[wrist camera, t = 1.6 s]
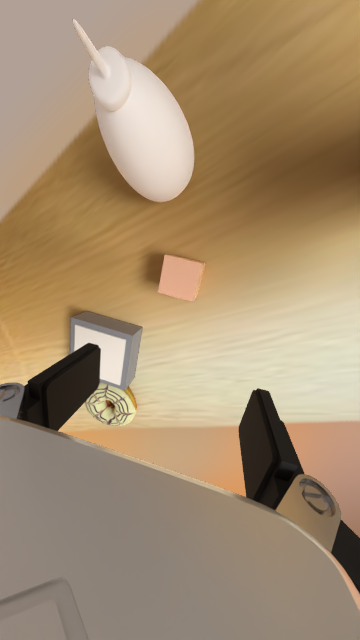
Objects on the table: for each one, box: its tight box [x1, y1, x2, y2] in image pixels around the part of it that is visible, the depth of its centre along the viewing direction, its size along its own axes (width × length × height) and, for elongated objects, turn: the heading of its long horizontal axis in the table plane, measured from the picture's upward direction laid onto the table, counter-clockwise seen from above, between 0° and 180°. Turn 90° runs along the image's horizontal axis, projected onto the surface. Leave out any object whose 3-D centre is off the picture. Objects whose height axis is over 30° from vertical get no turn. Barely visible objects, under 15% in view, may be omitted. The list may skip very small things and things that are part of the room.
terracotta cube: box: [158, 255, 206, 302], centre depth 27 cm, size 5×5×5 cm
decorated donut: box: [85, 382, 137, 426], centre depth 38 cm, size 10×11×4 cm
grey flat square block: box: [70, 311, 143, 390], centre depth 34 cm, size 11×11×4 cm
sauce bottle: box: [72, 19, 194, 202], centre depth 17 cm, size 8×8×18 cm
